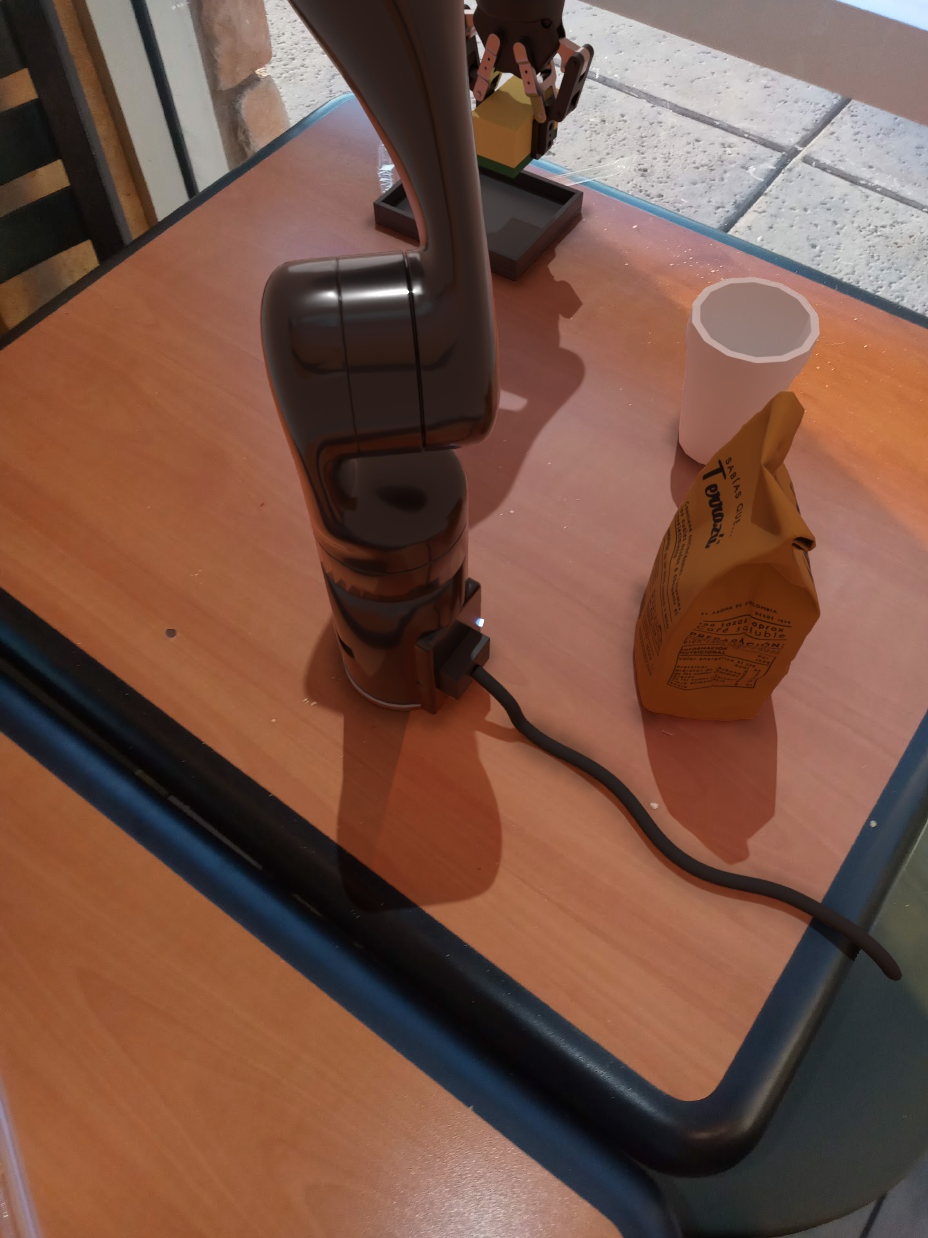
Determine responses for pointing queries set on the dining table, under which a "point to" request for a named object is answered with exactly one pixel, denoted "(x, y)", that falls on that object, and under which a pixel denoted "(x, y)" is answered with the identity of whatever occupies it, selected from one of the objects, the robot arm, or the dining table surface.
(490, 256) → the tray
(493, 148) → the sponge
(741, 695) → the coffee package
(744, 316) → the foam cup
